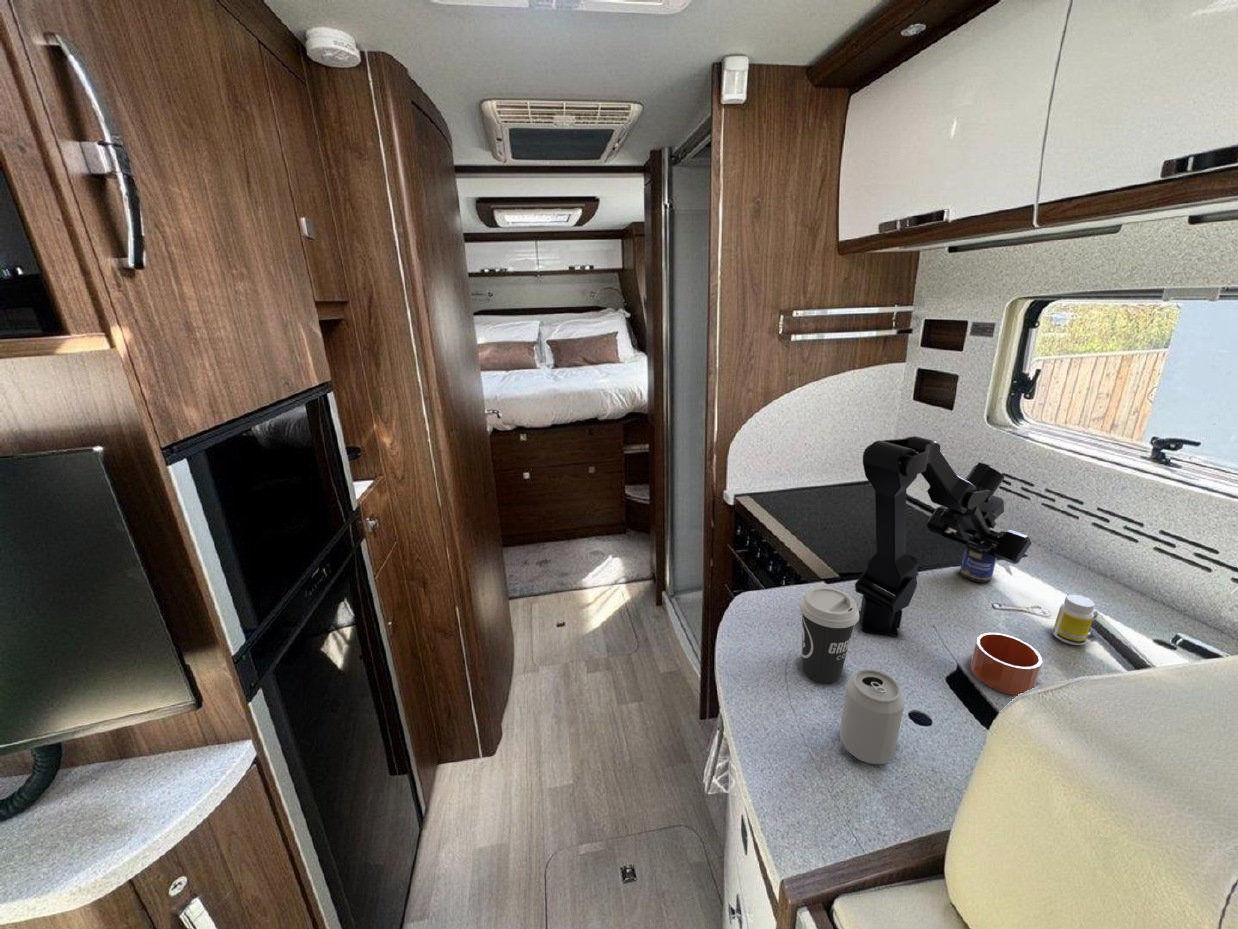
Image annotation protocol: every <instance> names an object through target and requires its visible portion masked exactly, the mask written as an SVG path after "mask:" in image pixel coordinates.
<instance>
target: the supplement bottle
mask: <svg viewBox="0 0 1238 929" xmlns="http://www.w3.org/2000/svg"><path fill="white" fill-rule="evenodd" d="M1094 608H1095V603H1094V601H1093V600H1091V599H1089V598H1087V597H1085V596H1083V595H1078V594H1067V595H1066V597H1065V599H1064V603H1062V604H1060V606H1059V610H1058V613H1057V616H1056V619H1055V622H1054V625H1053V629H1052V634H1053V636H1054V637H1056V638H1057V639H1058V640H1060V641H1061V642H1063V643H1065V644H1068V645H1072V646H1082V645H1084V644H1085V643H1086V642H1087V638H1088V635H1089V633H1090V629H1091V626H1092V624H1093V620H1094V617H1095V615H1094V610H1095V609H1094Z"/></svg>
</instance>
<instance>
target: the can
mask: <svg viewBox="0 0 1238 929" xmlns="http://www.w3.org/2000/svg"><path fill="white" fill-rule="evenodd" d="M844 693H845V694H844V701H843V708H842V715H841V721H840V728H839V739H840V742H841V744H842V746H843V747H844V748H845V750H846V751H847V752H848V753H850V754H851V755H852V756H853V757H854V758H856V759H857V760H860V761H861V762H864V763H867V764H870V765H882V764H888V763H889V762H890V761H892V760H893V758H894V756H895V753H896V749H897V745H898V739H899V734H900V729H901V724H902V719H903V715H904V709H905V705H906V704H905V703H906V702H905V696H904V694H903V692H902V688H901V686H900V684H899V683H898V682H897V680H895V679H894V678H893V677H891V676H890V675H889V674H888V673H885V672H884V671H881V670H877V669H873V668H863V669H858V670H857V671H855V673H854V674H853V675H851V677H849V679H848V680H847V682H846V687H845V692H844Z"/></svg>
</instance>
